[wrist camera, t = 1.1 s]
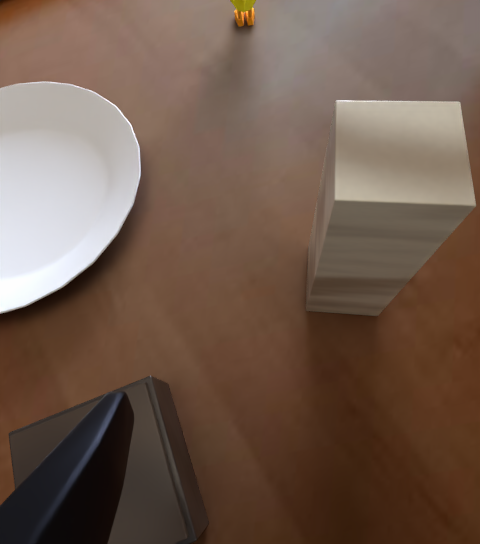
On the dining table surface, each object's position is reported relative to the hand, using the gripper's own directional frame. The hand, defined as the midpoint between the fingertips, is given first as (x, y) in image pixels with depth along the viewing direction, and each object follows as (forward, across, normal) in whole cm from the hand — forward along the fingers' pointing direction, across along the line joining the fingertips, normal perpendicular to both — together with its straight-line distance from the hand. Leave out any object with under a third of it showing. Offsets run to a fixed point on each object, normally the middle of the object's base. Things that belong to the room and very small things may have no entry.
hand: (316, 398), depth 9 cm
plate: (+22, +20, +3) cm, 30 cm away
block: (+15, -4, +8) cm, 18 cm away
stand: (+6, +10, +14) cm, 18 cm away
